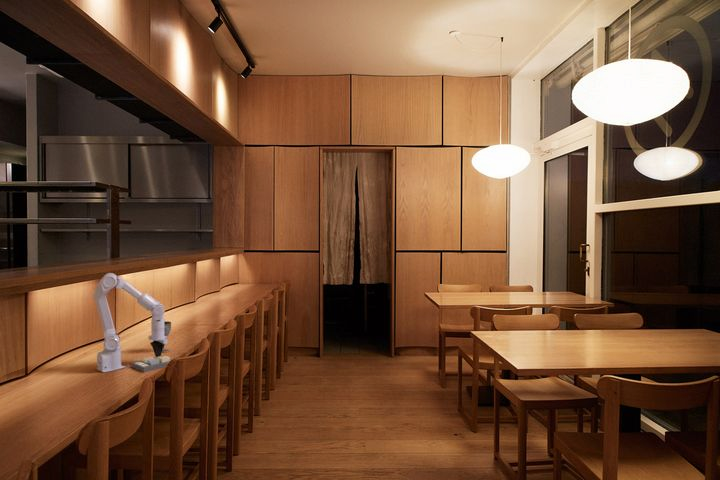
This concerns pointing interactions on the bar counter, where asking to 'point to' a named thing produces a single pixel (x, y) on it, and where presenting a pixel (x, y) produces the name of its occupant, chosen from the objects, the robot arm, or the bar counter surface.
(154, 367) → the keyguard
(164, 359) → the key sand
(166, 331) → the wine glass
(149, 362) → the key slate
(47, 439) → the bar counter surface
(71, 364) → the bar counter surface
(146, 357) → the key cream
